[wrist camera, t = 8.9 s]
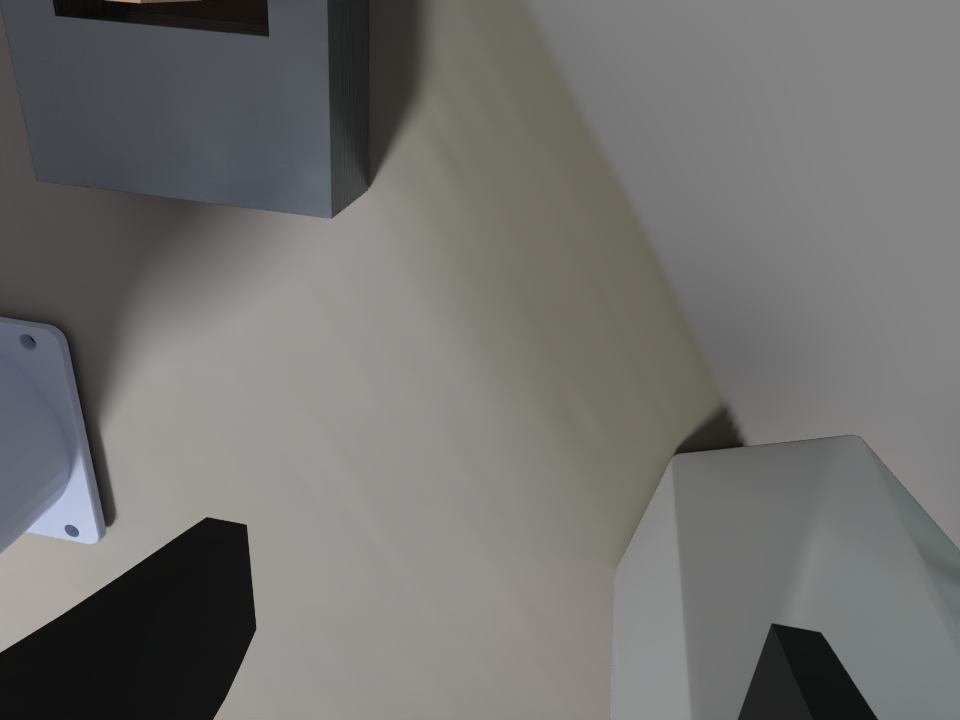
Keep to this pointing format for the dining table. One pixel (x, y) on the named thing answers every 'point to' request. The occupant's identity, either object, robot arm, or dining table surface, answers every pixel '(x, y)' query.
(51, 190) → the dining table surface
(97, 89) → the grey slotted tray
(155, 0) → the tan block
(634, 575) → the jar
